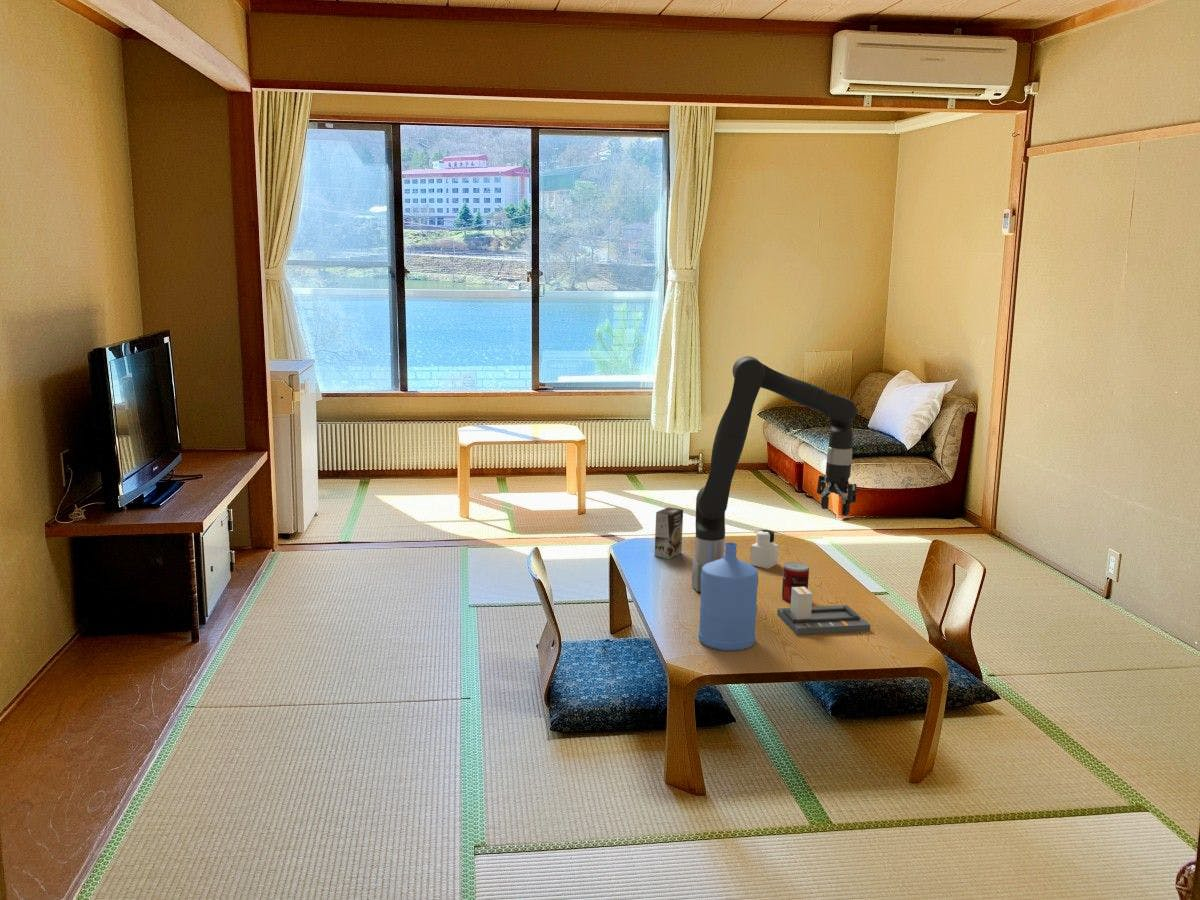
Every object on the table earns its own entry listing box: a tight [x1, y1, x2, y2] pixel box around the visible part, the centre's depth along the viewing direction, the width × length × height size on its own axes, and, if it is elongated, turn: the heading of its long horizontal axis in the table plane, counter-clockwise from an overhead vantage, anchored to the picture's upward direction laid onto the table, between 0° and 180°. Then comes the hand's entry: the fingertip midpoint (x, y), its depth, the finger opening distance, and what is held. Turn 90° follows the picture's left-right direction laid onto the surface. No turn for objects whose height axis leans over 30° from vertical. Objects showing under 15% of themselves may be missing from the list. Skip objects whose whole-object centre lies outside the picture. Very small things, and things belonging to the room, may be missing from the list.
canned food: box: [781, 561, 810, 604], centre depth 313 cm, size 8×8×11 cm
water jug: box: [698, 542, 759, 652], centre depth 277 cm, size 16×16×28 cm
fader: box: [789, 587, 813, 620], centre depth 292 cm, size 4×6×8 cm, turn 10°
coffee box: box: [654, 506, 684, 560], centre depth 354 cm, size 9×6×16 cm
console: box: [776, 604, 871, 636], centre depth 294 cm, size 22×16×3 cm
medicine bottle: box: [749, 529, 779, 570], centre depth 345 cm, size 7×7×12 cm
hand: (834, 511), depth 316 cm, fingers open, 8 cm apart
